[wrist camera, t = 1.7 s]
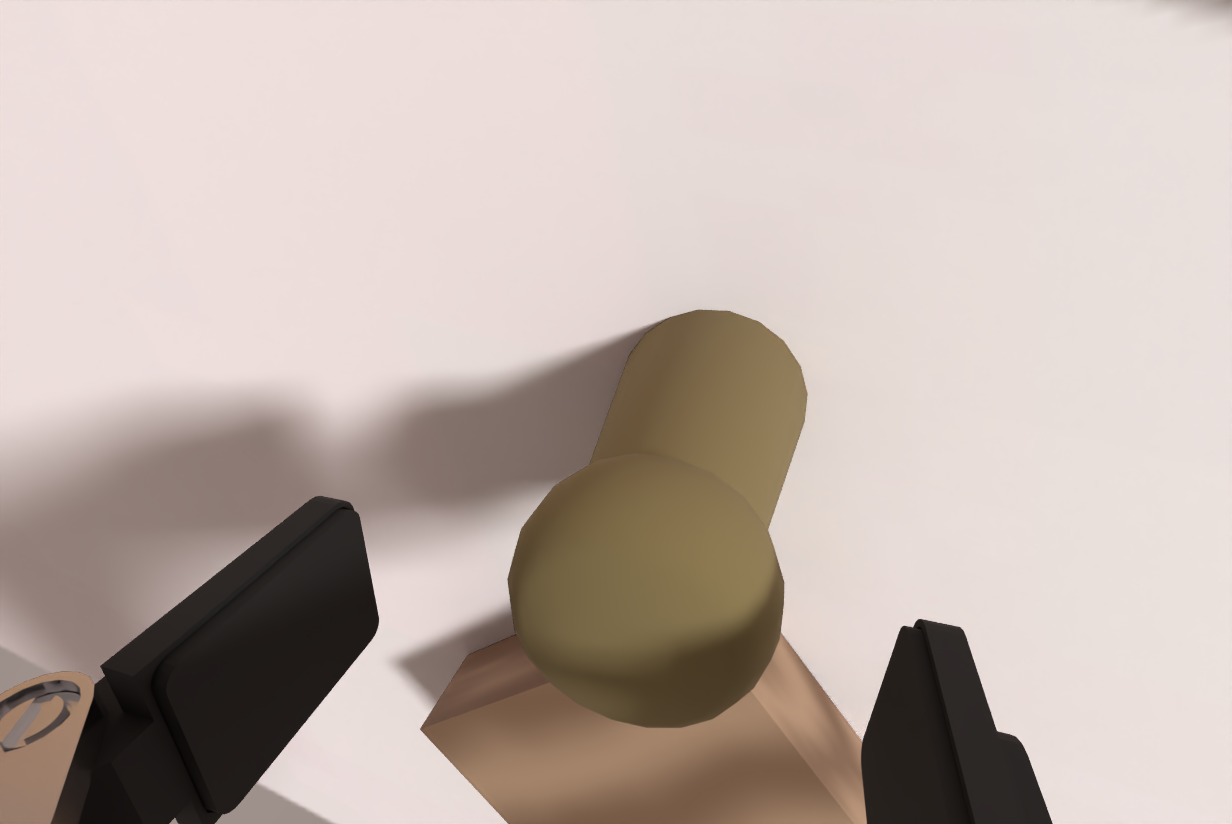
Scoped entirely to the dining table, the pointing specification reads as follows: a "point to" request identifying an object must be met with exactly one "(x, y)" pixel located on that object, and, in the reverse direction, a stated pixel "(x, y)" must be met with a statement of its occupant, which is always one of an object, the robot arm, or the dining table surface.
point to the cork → (668, 530)
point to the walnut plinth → (648, 751)
